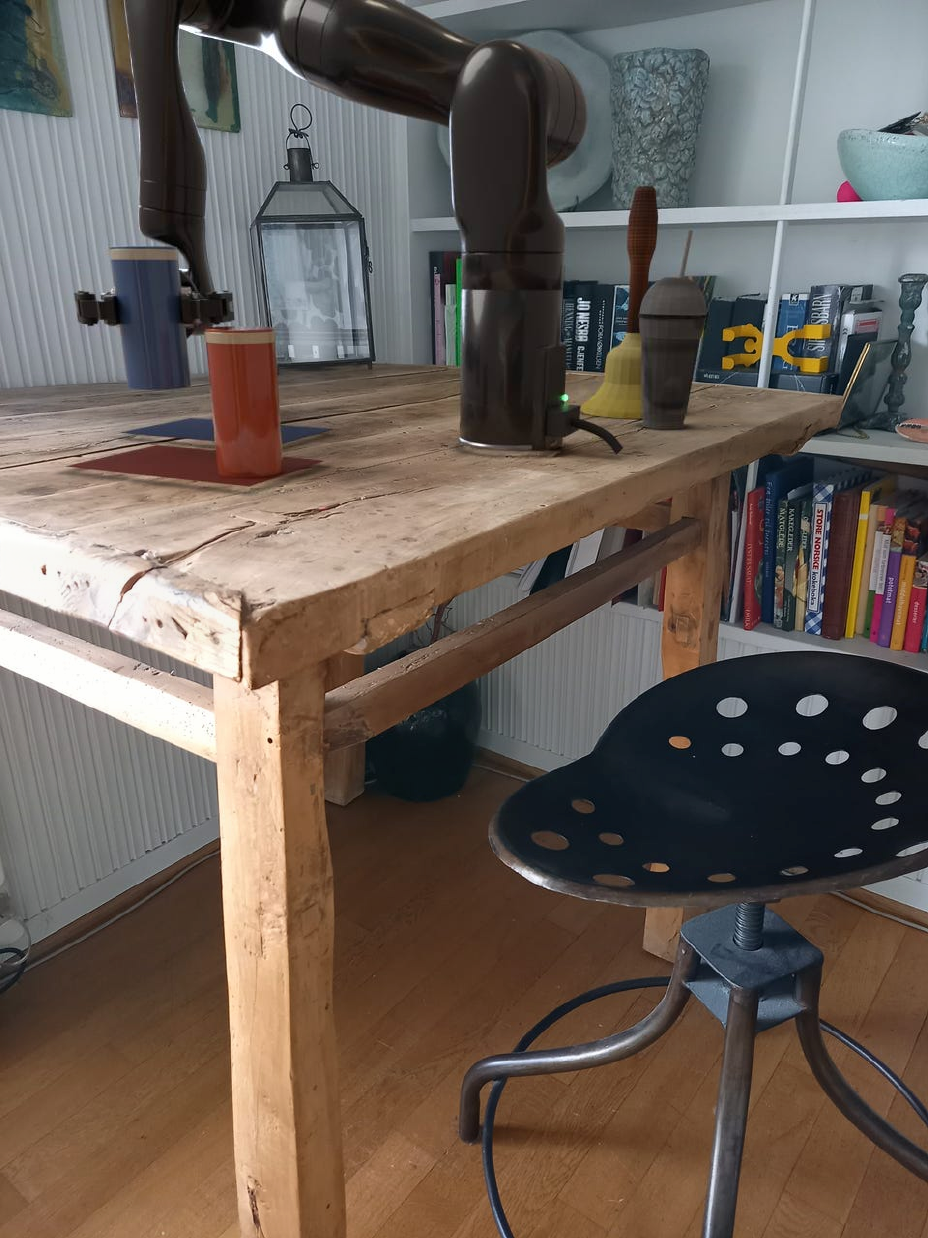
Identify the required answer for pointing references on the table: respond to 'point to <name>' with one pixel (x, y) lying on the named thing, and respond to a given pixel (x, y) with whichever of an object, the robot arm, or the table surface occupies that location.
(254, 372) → the cylinder
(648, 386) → the beverage cup
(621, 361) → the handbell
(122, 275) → the blue tumbler
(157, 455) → the red mat
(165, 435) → the blue mat
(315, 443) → the table surface
